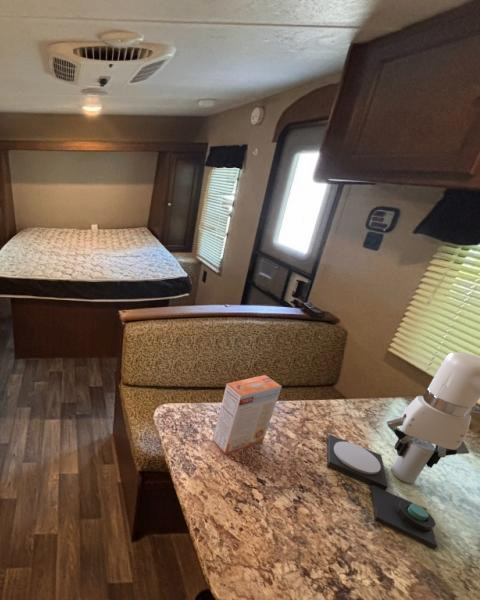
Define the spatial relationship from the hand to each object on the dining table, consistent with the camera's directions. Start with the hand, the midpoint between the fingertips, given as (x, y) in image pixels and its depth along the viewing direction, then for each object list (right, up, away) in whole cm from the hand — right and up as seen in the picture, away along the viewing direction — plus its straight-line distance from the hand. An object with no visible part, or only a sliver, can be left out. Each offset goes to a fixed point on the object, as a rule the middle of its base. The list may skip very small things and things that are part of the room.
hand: (413, 457), depth 82 cm
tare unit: (-11, -10, -7) cm, 17 cm away
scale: (-10, -5, +6) cm, 13 cm away
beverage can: (0, -7, +3) cm, 7 cm away
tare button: (-9, -9, -9) cm, 16 cm away
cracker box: (-40, -1, +12) cm, 42 cm away
